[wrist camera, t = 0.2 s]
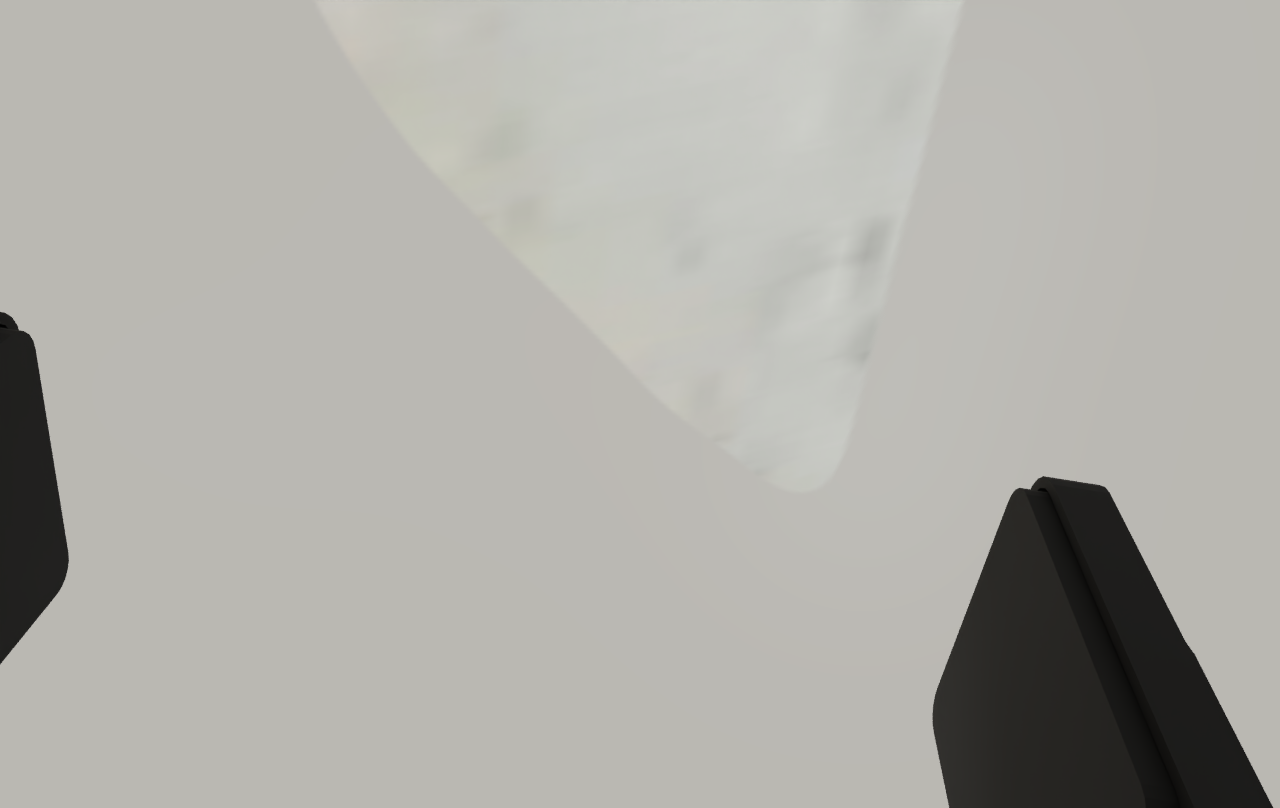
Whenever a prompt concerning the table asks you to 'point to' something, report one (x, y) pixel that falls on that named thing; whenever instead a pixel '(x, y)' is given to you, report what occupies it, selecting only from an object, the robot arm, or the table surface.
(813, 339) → the table surface
